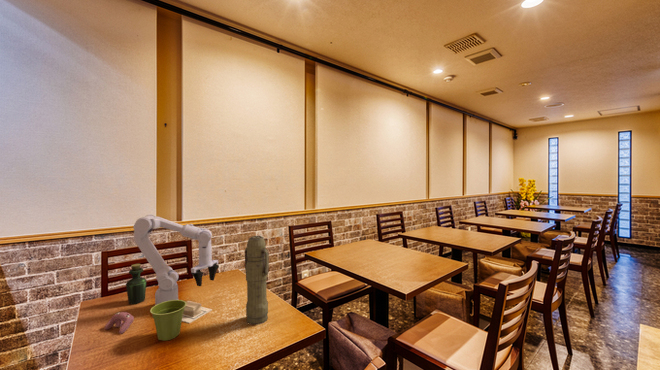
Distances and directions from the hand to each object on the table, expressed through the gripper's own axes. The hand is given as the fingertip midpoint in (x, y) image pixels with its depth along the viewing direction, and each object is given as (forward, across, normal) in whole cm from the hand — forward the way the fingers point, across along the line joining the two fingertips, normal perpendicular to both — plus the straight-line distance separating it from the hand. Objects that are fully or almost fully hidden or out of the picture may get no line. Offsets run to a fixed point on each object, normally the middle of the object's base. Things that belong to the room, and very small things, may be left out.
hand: (205, 282), depth 130 cm
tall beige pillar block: (+9, -11, -3) cm, 15 cm away
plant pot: (+10, -26, -9) cm, 29 cm away
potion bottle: (+10, -12, +32) cm, 35 cm away
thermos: (+10, -4, -33) cm, 35 cm away
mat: (+9, -11, -3) cm, 15 cm away
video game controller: (+10, -30, +14) cm, 35 cm away
